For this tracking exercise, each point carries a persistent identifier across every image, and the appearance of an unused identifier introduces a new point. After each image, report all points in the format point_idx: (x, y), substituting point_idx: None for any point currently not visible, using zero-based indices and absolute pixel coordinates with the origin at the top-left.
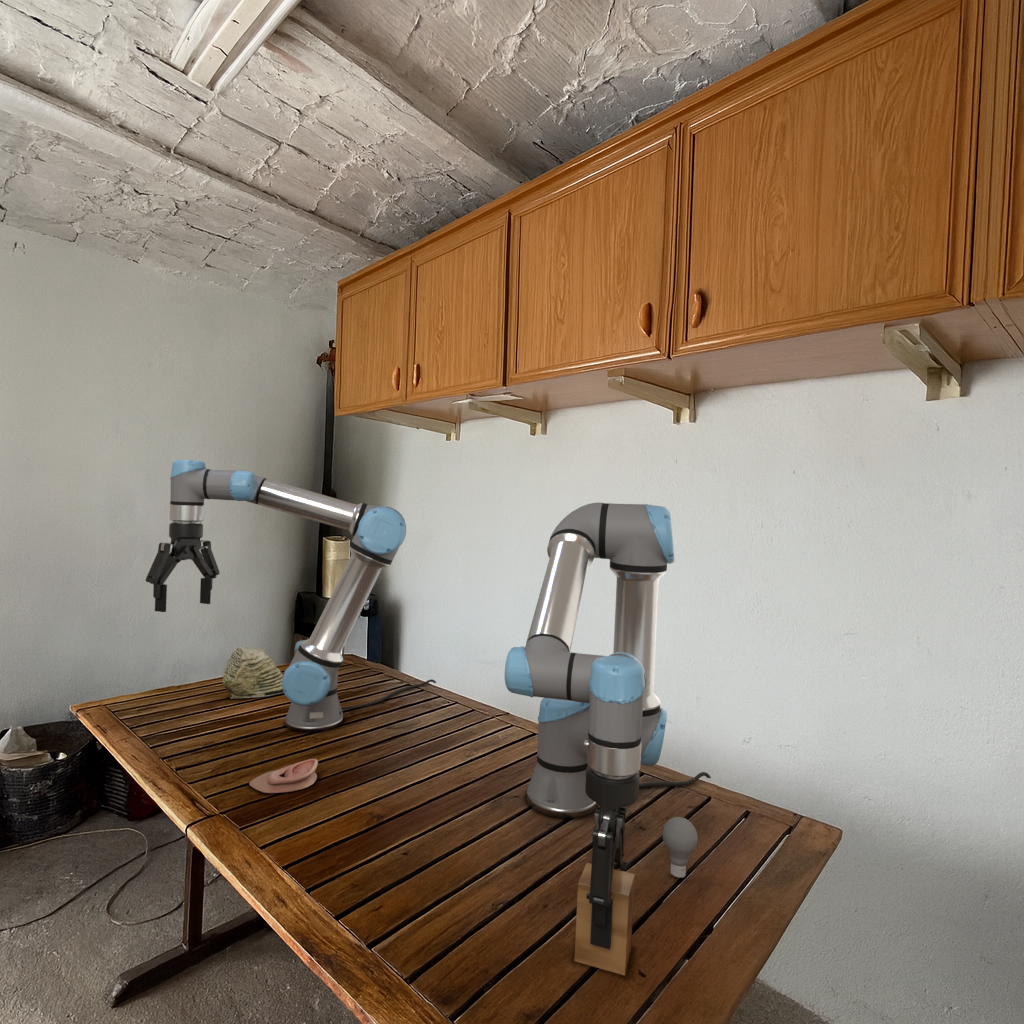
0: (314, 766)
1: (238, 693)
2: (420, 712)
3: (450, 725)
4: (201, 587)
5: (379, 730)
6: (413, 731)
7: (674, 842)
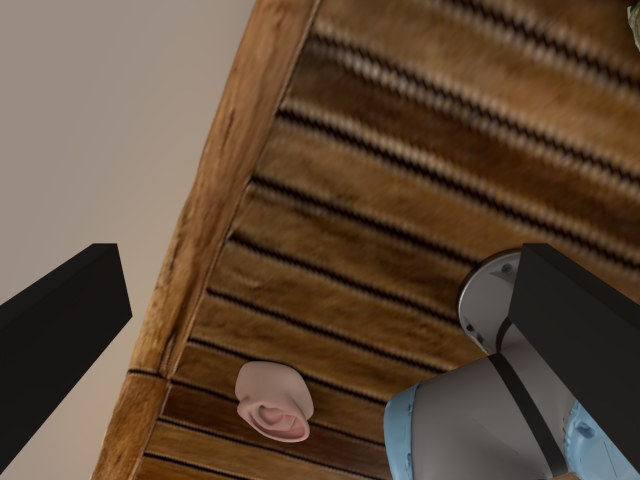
0: (290, 441)
1: (636, 35)
2: None
3: None
4: (615, 329)
5: None
6: None
7: None
